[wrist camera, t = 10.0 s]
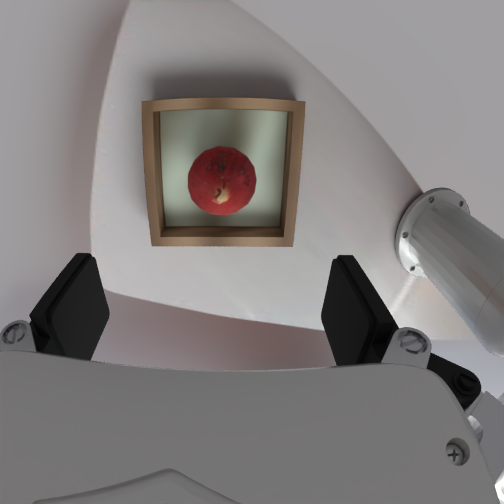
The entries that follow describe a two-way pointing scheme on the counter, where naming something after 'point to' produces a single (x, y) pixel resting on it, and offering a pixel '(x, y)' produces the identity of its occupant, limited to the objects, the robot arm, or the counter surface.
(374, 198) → the counter surface
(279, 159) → the tray
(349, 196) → the counter surface
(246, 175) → the dark red round piece
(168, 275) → the counter surface
